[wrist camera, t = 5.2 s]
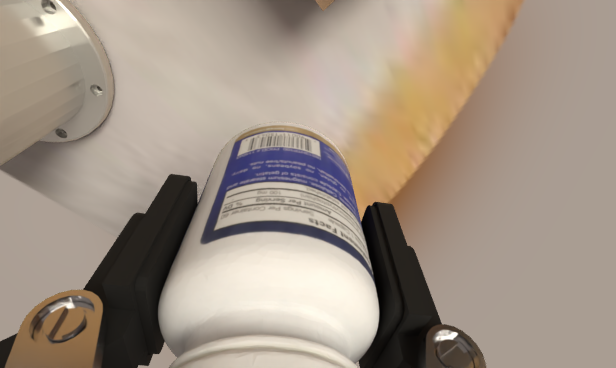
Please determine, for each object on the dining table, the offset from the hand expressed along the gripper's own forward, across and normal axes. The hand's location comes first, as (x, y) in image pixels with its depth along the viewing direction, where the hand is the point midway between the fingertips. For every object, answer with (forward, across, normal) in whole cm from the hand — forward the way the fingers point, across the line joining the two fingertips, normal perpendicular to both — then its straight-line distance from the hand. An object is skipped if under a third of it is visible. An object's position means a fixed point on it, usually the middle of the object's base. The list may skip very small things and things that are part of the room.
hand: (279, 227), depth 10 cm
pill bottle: (+3, 0, 0) cm, 3 cm away
